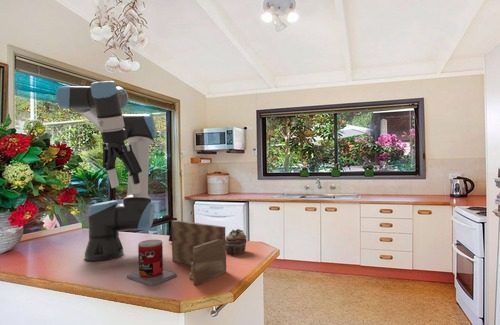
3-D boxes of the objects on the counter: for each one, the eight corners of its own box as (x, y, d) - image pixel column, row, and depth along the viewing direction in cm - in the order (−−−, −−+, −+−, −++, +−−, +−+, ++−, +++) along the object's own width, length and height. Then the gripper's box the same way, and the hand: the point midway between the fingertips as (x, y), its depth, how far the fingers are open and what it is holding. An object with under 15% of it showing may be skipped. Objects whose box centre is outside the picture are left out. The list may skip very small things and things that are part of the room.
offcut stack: (189, 278, 105) (189, 263, 105) (207, 270, 112) (207, 256, 112) (198, 280, 102) (197, 265, 102) (216, 272, 110) (216, 258, 110)
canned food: (134, 275, 106) (133, 243, 106) (153, 268, 113) (152, 238, 113) (148, 279, 102) (148, 246, 102) (167, 272, 108) (166, 240, 108)
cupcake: (238, 248, 141) (237, 226, 141) (251, 253, 133) (250, 229, 133) (220, 252, 135) (219, 229, 135) (232, 257, 127) (231, 233, 127)
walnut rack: (144, 270, 114) (143, 226, 114) (175, 259, 126) (174, 220, 126) (196, 285, 98) (195, 235, 98) (226, 271, 110) (225, 226, 110)
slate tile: (126, 277, 107) (126, 274, 107) (150, 269, 115) (150, 266, 115) (152, 286, 99) (151, 282, 99) (176, 276, 107) (176, 273, 107)
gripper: (83, 130, 107) (97, 188, 113) (123, 133, 92) (137, 199, 98) (103, 126, 112) (116, 181, 118) (145, 128, 98) (157, 191, 104)
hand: (125, 189), depth 108 cm, fingers open, 13 cm apart
